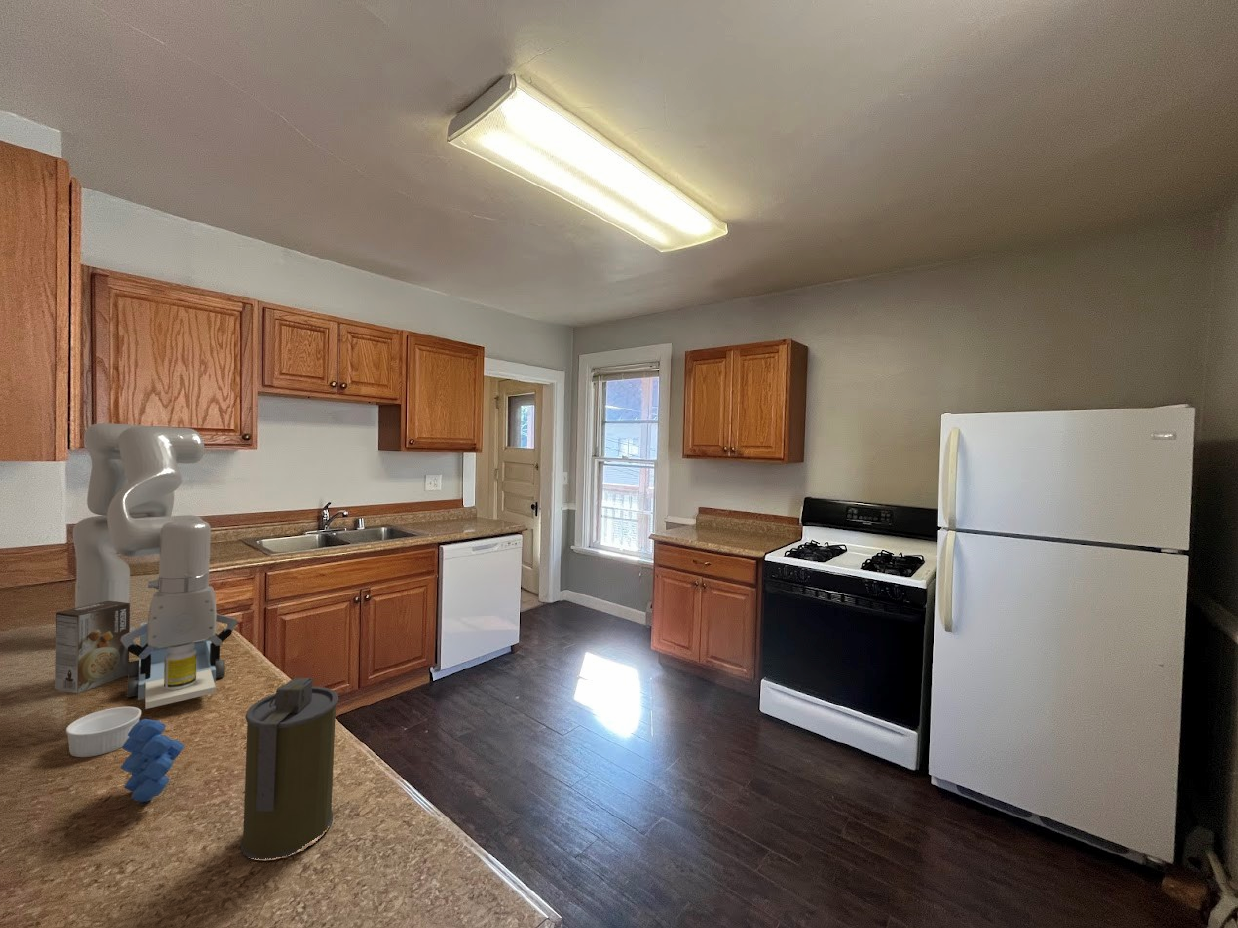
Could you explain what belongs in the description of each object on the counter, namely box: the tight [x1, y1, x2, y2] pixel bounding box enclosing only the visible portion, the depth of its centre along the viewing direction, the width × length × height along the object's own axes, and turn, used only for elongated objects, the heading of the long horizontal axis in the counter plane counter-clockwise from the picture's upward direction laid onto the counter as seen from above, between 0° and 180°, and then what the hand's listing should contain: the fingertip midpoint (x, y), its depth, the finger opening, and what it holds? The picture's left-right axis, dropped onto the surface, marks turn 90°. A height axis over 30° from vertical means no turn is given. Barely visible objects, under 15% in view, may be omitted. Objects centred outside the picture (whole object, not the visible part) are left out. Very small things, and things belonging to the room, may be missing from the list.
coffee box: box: [54, 601, 131, 694], centre depth 104 cm, size 9×6×16 cm
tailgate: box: [144, 669, 217, 710], centre depth 98 cm, size 1×10×11 cm
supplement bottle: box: [164, 642, 197, 690], centre depth 98 cm, size 5×5×8 cm
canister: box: [240, 677, 339, 859], centre depth 67 cm, size 11×10×20 cm
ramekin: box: [65, 706, 142, 758], centre depth 84 cm, size 9×9×4 cm
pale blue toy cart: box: [126, 621, 226, 701], centre depth 108 cm, size 16×15×11 cm
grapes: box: [120, 718, 186, 803], centre depth 72 cm, size 12×7×12 cm, turn 59°
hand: (181, 669), depth 98 cm, fingers open, 9 cm apart
